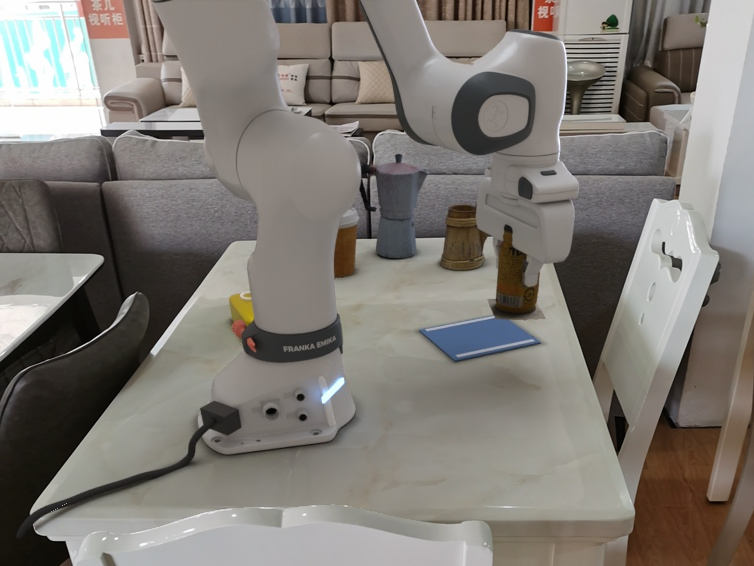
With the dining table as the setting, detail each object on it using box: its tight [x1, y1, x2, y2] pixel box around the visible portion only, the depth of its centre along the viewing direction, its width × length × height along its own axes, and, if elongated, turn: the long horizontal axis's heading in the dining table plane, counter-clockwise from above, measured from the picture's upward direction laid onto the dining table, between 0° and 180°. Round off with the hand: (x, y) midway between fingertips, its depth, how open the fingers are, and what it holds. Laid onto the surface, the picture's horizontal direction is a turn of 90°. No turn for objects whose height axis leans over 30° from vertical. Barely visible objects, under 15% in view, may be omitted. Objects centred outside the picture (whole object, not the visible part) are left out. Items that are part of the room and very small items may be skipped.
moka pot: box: [359, 153, 430, 259], centre depth 165 cm, size 10×15×20 cm, turn 89°
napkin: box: [418, 314, 542, 363], centre depth 133 cm, size 16×14×1 cm
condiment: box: [486, 224, 547, 322], centre depth 111 cm, size 7×8×12 cm
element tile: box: [228, 290, 254, 326], centre depth 138 cm, size 15×15×5 cm
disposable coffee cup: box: [334, 206, 360, 278], centre depth 158 cm, size 10×10×12 cm
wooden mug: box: [440, 203, 490, 271], centre depth 158 cm, size 9×14×18 cm, turn 89°
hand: (515, 277), depth 112 cm, fingers closed on condiment, 6 cm apart
